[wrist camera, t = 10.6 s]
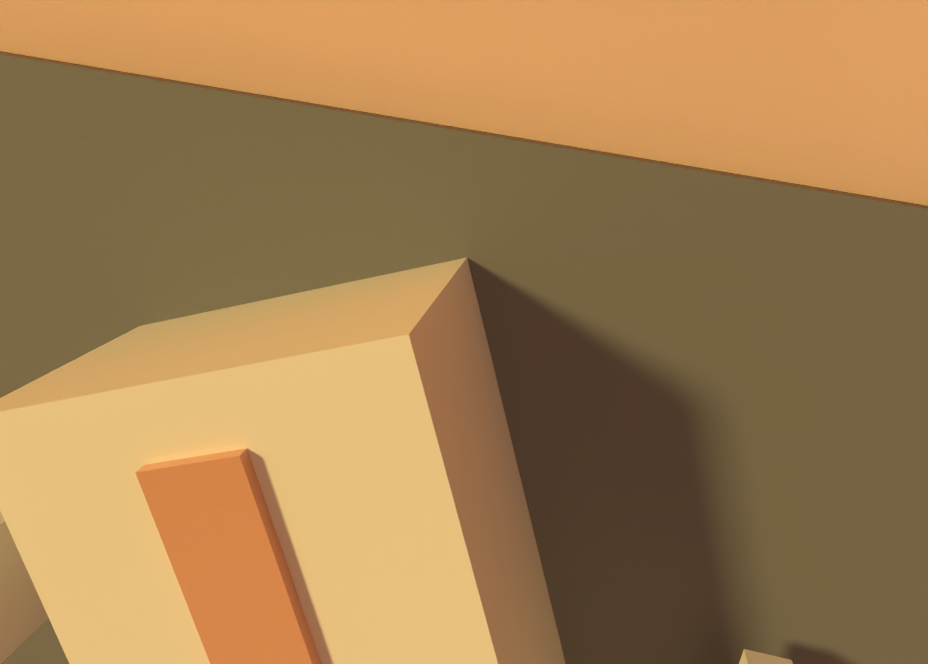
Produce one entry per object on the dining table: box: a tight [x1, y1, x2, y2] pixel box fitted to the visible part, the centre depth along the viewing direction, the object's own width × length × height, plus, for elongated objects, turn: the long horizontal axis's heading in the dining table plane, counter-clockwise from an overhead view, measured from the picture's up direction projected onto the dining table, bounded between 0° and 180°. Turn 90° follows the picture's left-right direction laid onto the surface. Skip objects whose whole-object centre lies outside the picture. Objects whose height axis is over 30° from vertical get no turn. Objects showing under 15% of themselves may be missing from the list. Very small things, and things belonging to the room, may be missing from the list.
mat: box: [0, 51, 928, 664], centre depth 14 cm, size 20×17×1 cm
